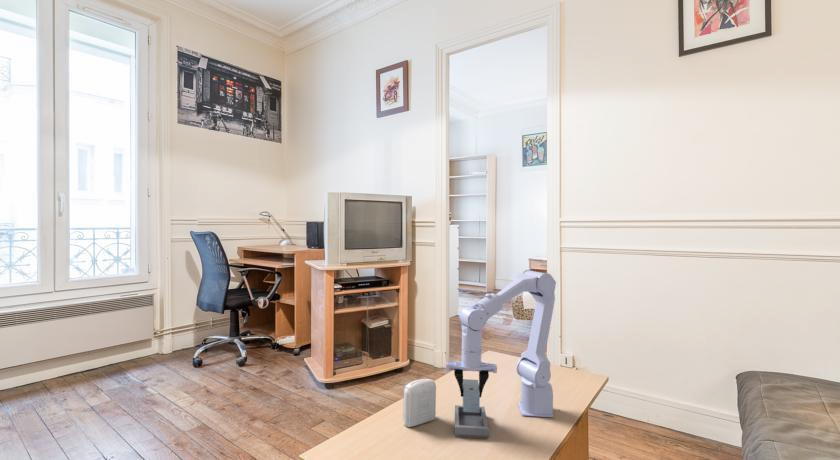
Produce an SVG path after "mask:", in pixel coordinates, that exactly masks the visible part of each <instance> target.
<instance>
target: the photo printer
mask: <svg viewBox="0 0 840 460" xmlns="http://www.w3.org/2000/svg"><path fill="white" fill-rule="evenodd" d="M436 398H437V385H436V383H435V380H433V379H431V378H421V379H416V380H414V381H411V382H409V383H407V384H406V385H405V386H404V388H403V405H402V406H403V410H402V413H403V414H402V419H403V421H402V422H403V426H405V427H407V428H412V427H416V426H418V425H419V426H420V425H423V424H426V423H428V422H432V421H434V420H436V408H437V407H436V405H437V404H436V401H437V400H436Z"/></svg>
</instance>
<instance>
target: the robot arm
mask: <svg viewBox="0 0 840 460" xmlns="http://www.w3.org/2000/svg"><path fill="white" fill-rule="evenodd" d="M556 285H557V281H556V280H555V278H554V276H553V275H552V274H550V273H548V272H541V271H535V270H531V269H525V270H523V271H522V272H521V273H518V274H517V275H516V278H515V279H514V280H512V281H510V283H508V285H506V286H505V287H503V288H502V289H501V290H500V291H498V292H497V293H493V292H492V293H486V294H485V295H484V297H483V298H482V299H480V300H478V301H477V302H474V303H472V305H471V306H466V307H463V308H462V309H461V311H460V312H459V315H458V316H457V319H458V323H460V326H461V361H459V360H458V361H446V365H445V366H446V368H445V370H446V372H450V371H454V374H453V375H454V377H455V379H456V381H457V384H458V388H459V392H460V397H462V398H463V379H464V372H466V371H467V372H478V384H479V390H480V398H482V395H483V392H484V388H485V385H486V383H487V381H488V380H489V378H490V377H489V375H490V373H493V374H497V372H498V366H497V363H489V362H483V361H482V345H483V343H482V341H483V338H482V337H483V329H484V328H485V326H486V324H487V322H488V321H489V320H490V319H491V318H492V317H494V316H495V315H496V314H498V313H499V312H501V311H502V310H503V309H504V304H505V303H507V302H508V301H510V300H512V299H513V298H515V297H517V296H518V295H520V294H521V293H523V292H527V293H529V294H530V295H531V296H532V298H533V299H534V300H535V306H534V311H533V315H532V322H531V327H530V334H529V339H528V344H527V348H526V350H524V351H523V352H522V353H521V354H520V358H519V360H518V361H517V362H516V363H517V364H516V373H517V374H518V375H519V379H520V383H521V384H520V401H518V402H517V406H518V408H519V412H520V414H521V416H524V417H538V418H540V417H543V418H554V415H553V414H554V413H553V412H554V390H553V386H552V384H551V383H550V380H551V377H552V375H551V374H552V372H551V362H550V360H549V358H548V357H547V355H546V351H547V345H548V341H549V333H550V329H551V323H552V318H553V313H554V307H555V306H554V305H555V301H556V295H555V290H556Z"/></svg>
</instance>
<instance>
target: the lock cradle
mask: <svg viewBox="0 0 840 460" xmlns="http://www.w3.org/2000/svg"><path fill="white" fill-rule="evenodd" d="M454 435H455V436H454V437H455V438H468V439H469V438H470V439H484V440H485V439H487V440H488V439H489V425H488V420H487V414H486V409H485V406H479V413H477V412H463V405H460V404H459V405H458V404H457V405H456V404H455V405H454Z"/></svg>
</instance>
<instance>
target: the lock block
mask: <svg viewBox="0 0 840 460" xmlns="http://www.w3.org/2000/svg"><path fill="white" fill-rule="evenodd" d="M480 398H481V397H480V390H479V379H471V378H470V379H465V378H463V397H462V406H463V412H477V413H479V406H480ZM480 407H481V406H480Z"/></svg>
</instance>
